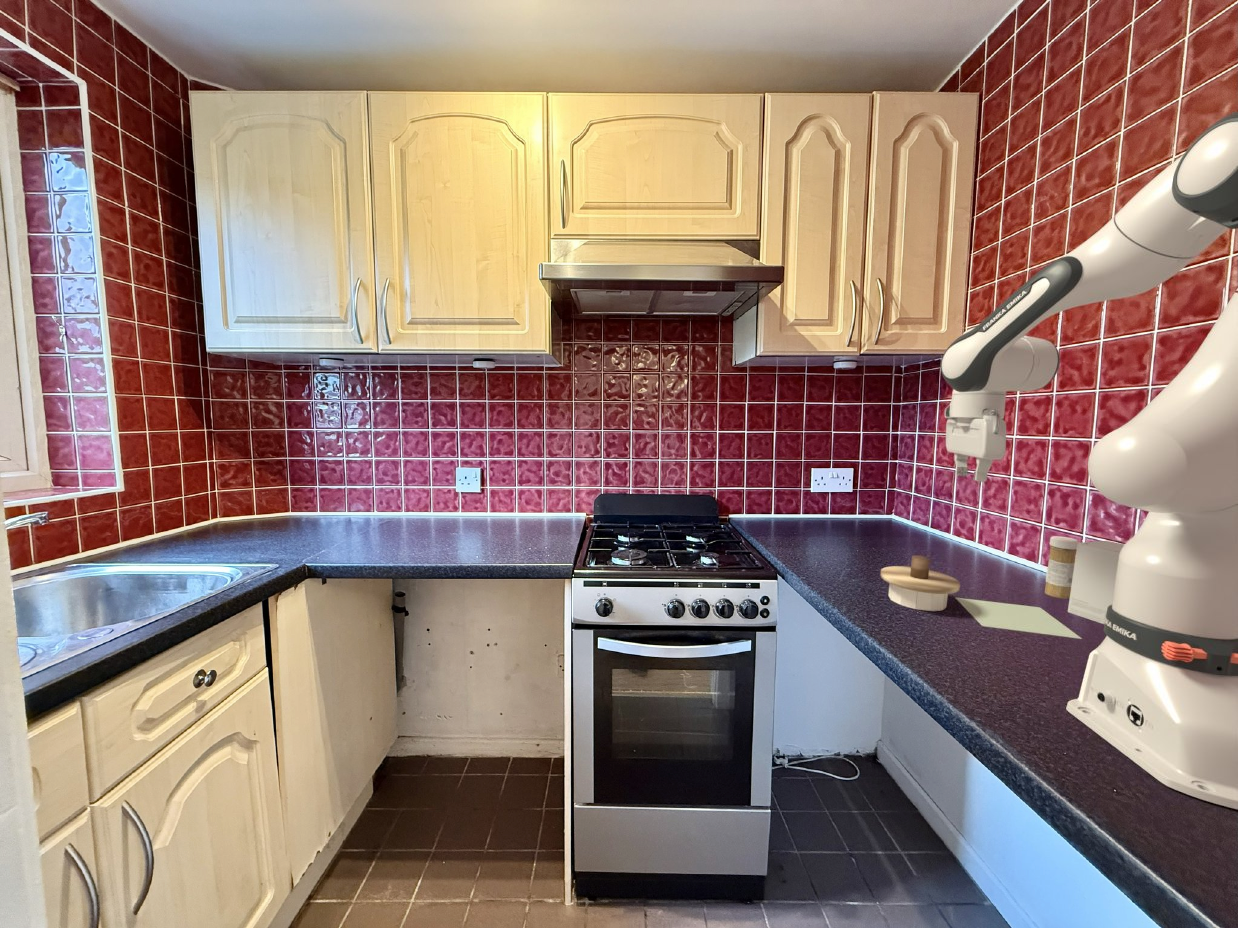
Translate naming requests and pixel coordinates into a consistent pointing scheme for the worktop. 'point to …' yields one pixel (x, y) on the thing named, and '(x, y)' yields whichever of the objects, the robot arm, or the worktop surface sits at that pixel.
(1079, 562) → the supplement box
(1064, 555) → the sprinkles bottle
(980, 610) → the mat
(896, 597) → the bowl
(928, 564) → the lid
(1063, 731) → the worktop surface
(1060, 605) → the worktop surface
